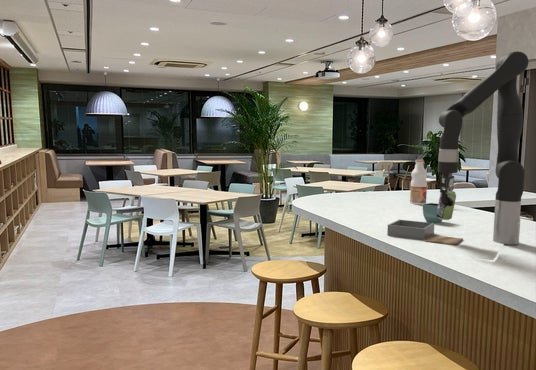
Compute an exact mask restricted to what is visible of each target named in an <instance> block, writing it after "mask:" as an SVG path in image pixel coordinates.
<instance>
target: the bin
mask: <svg viewBox="0 0 536 370" xmlns="http://www.w3.org/2000/svg"><path fill="white" fill-rule="evenodd" d="M386 233H387V235H386V236H390V237H399V238H400V237H401V238H406V239H407V238H408V239H416V240H423V241H424V240H426V239H428V238H429V237H431V236H432V235H435V223H432V222H427V221H425V222H424V221H418V220H407V219H397V220H395V221H393V222H391V223H389V224H387V232H386Z"/></svg>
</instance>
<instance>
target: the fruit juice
mask: <svg viewBox="0 0 536 370" xmlns="http://www.w3.org/2000/svg"><path fill="white" fill-rule="evenodd" d="M424 162H425V160H424V159H415V166H414V169H412V171H411V175H410V176H411V181H410V188H409V189H410V193H409V204H410V205H415V206H422V204H427V193H428V191H427V190H428V181H427V177H428V172H427V171H426V169H425V166H424Z"/></svg>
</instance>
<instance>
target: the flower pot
mask: <svg viewBox="0 0 536 370" xmlns="http://www.w3.org/2000/svg"><path fill="white" fill-rule="evenodd" d="M421 206H422V214H423V218H424V220H425V222H428V223H434V224H438V223H442V221H443V220H442V219H439V218H438V217H437V216H436V213H437V208H438V203H436V202H435V203H434V202H429V203H427V202H426V204H422V205H421Z"/></svg>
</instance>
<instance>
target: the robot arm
mask: <svg viewBox="0 0 536 370" xmlns="http://www.w3.org/2000/svg"><path fill="white" fill-rule="evenodd" d="M528 66H529V57H528V55H527V54H526V53H525V52H522V51H517V50H516V51H512V52H508V53H505V54H503V55H501V56H500V57H499V58H498V59H497V62H496V65H495V71H493V72H492V73H491V74H490V75H489V76H487V77H486V78H484V79H483V80H481V81H480V82H479V83H478V84H476V85H475V86H473V87H472V88H471V89H469V90H468V91H466V93H465V94H464V95H463V96H462V97H460V99H459V100H457V101H456V102H454V103H453V104H452V105H450V106H449V107H447V108H445V109H444V111H442V112H441V114H440V115H439V117H438V124H439V126H441V127H442V128H443V134H442V135H441V136H440V138H439V151H438V157H437V158H438V160H437V161H438V163H437V172H438V173H441V174H442V177H440V178H439V192H440V193H441V194H442V195H441V203H445V204H446V203H447V199H448V190H450V191H454V184H455V176H454V175H453V174H457V173H458V172H459V158H460V157H459V144H460V140H459V139H460V135H461V133H462V132H461V131H462V127H463V118H464V117H465V116H467V115H469V114H471V113H473V112H474V111H475V110H476V109H478V108H479V107H480V106H481V105H482V104H483V103H484V102H485V101H487V100H488V99H489V98H490V97H491V96H492V95H493V94H495V92H497V108H496V109H497V111H496V129H497V130H496V135H497V154H496V155H497V157H496V162H495V163H496V165H495V176H496V178H497V179H498V183H497V191H496V193H495V198H494V199H495V200H494V214H493V215H494V218H493V232H492V233H493V236H492V237H493V238H492V241H493V243H494V242H495V243H498V244H504V245H510V246H511V245H516V246H518V244H519V243H520V235H521V234H520V233H521V232H520V231H521V230H520V228H521V205H522V197H523V195H524V194H523V193H524V189H525V178H526V177H525V175H526V173H525V168H524V166H523V164H521V162H519V155H518V151H519V145H520V144H519V143H520V139H521V135H522V131H523V128H524V127H523V126H524V110H523V104H522V101H521V100H520V96H519V94H518V89H517V84H518V83H517V82H518V76H520V75H522V73H524V72H525V71H526V70H527V68H528Z"/></svg>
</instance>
